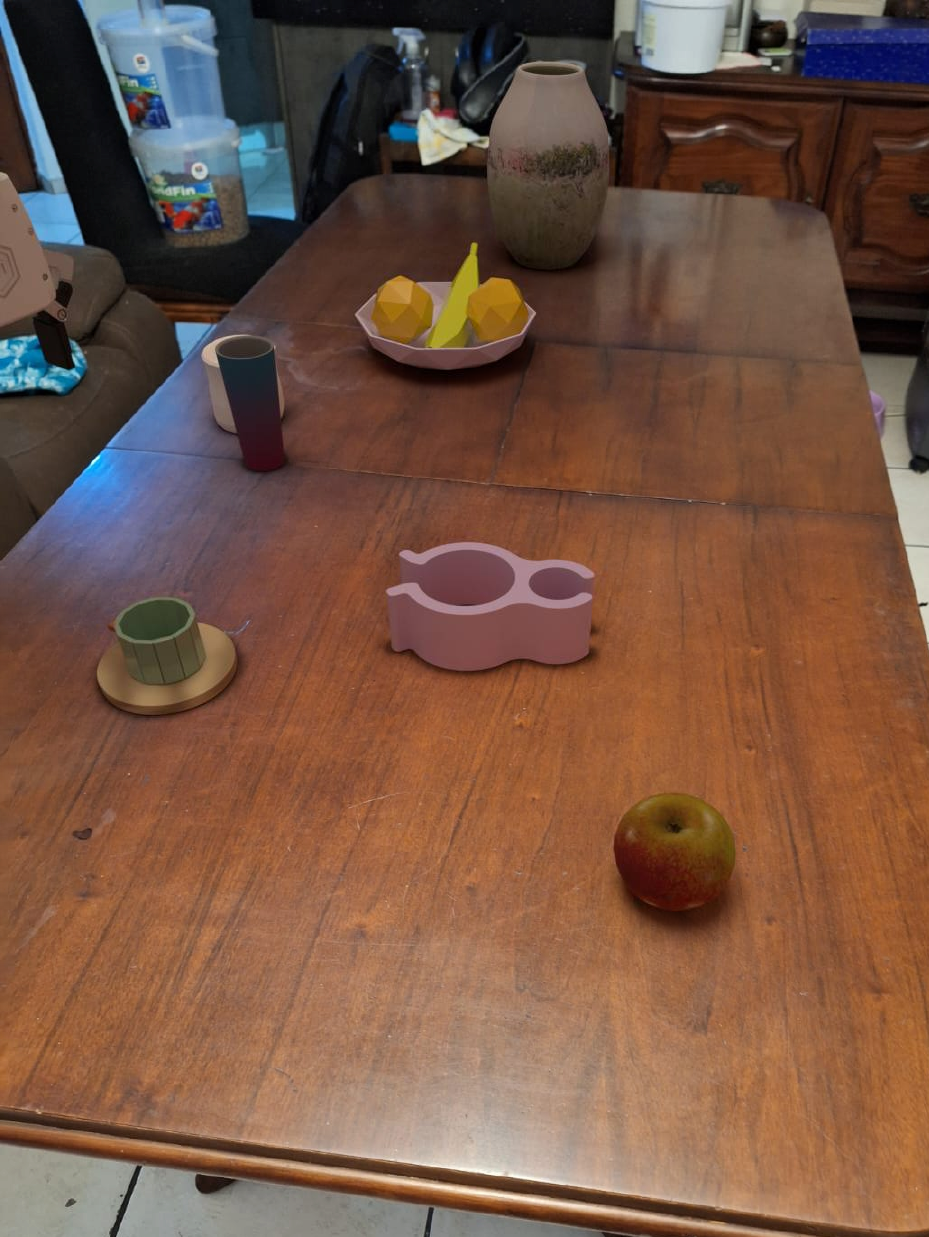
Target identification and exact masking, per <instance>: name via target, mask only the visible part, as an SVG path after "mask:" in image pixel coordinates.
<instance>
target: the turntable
mask: <svg viewBox="0 0 929 1237" xmlns="http://www.w3.org/2000/svg"><path fill="white" fill-rule="evenodd" d="M197 623H198V627H199V630H200V634H201V638H202V642H203V646H204V650H205V653H206V657H205V659H204V661H203V663H202V666H201V667H200V669H199V670H197V671H196V672H194V673H193V674H192V675H190V676H189V677H187V678H185V679H183V680H180V681H176V682H173V683H169V684H166V683H165V684H164V685H162V684H146V683H143V682H141V681H139V680H137V679H135V678H133V677H132V676H131V675H130V673H129V670H128V667H127V664H126V661H125V658H124V655H123V652H122V649H121V646H120V643H119V640H118V639H117V641H116V642H114V643H113V644H112V645H111V646H110V647H109V648H108V649H107V650H106V651H105V652H104V653H103V655H102V656H101V658H100V660H99V662H98V665H97V669H96V676H97V677H96V678H97V683H98V685H99V688H100V690H101V692H102V695H103V696H104V697H105V699H106V700H107V701H108V702H109V703H110V704H112V705H113V706H115V707H116V708H118V709H120V710H122V711H125V712H128V713H133V714H136V715H146V716H160V715H161V716H162V715H170V714H176V713H180V712H184V711H187V710H191V709H193V708H196V707H199V706H200V705H202V704H204V703H207V702H208V701H210V700H211V699H213V698H215V697H216V696H218V695H219V694H220V693H221V692H223V691H224V690H225V688H226V687H228V685H229V684H230V683H231V682H232V681H233V678H234V677H235V675H236V672H237V669H238V656H237V651H236V647H235V644H234V642H233V641H232V638H230V637H229V636H228V634H226V633H225V632H224V631H222V630H221V629H219V628H218V627H215V626H214V625H211V624H207V623H204V622H198V621H197Z"/></svg>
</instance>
